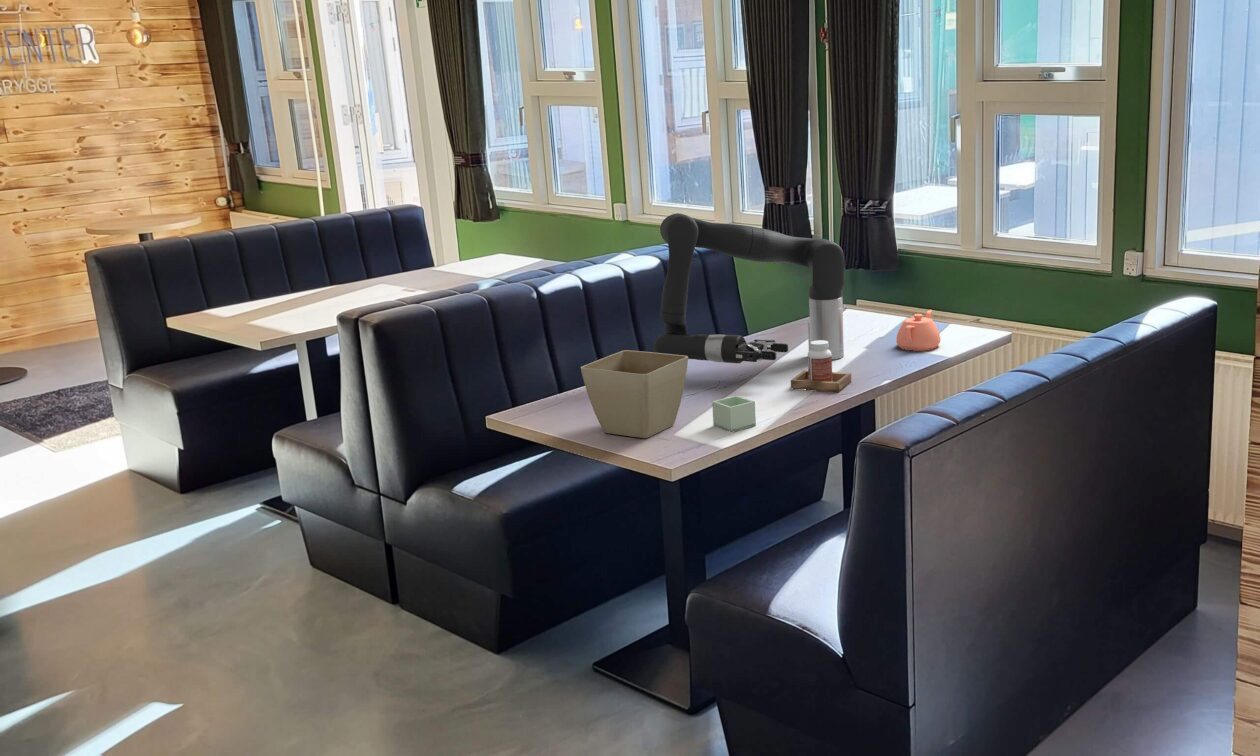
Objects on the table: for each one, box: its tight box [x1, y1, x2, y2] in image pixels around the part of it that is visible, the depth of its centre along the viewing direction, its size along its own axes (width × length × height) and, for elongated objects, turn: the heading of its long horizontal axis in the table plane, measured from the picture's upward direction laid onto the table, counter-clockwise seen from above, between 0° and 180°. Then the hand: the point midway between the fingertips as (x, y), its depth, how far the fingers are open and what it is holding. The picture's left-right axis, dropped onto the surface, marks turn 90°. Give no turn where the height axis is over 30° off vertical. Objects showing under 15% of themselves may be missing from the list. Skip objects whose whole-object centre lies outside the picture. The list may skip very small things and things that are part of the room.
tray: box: [790, 369, 852, 393], centre depth 320 cm, size 13×10×2 cm
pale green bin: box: [711, 395, 757, 433], centre depth 291 cm, size 7×7×6 cm
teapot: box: [895, 309, 941, 352], centre depth 352 cm, size 12×18×10 cm
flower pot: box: [580, 349, 689, 439], centre depth 292 cm, size 19×19×17 cm
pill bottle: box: [807, 340, 833, 382], centre depth 318 cm, size 6×6×11 cm
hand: (781, 351), depth 323 cm, fingers open, 8 cm apart
